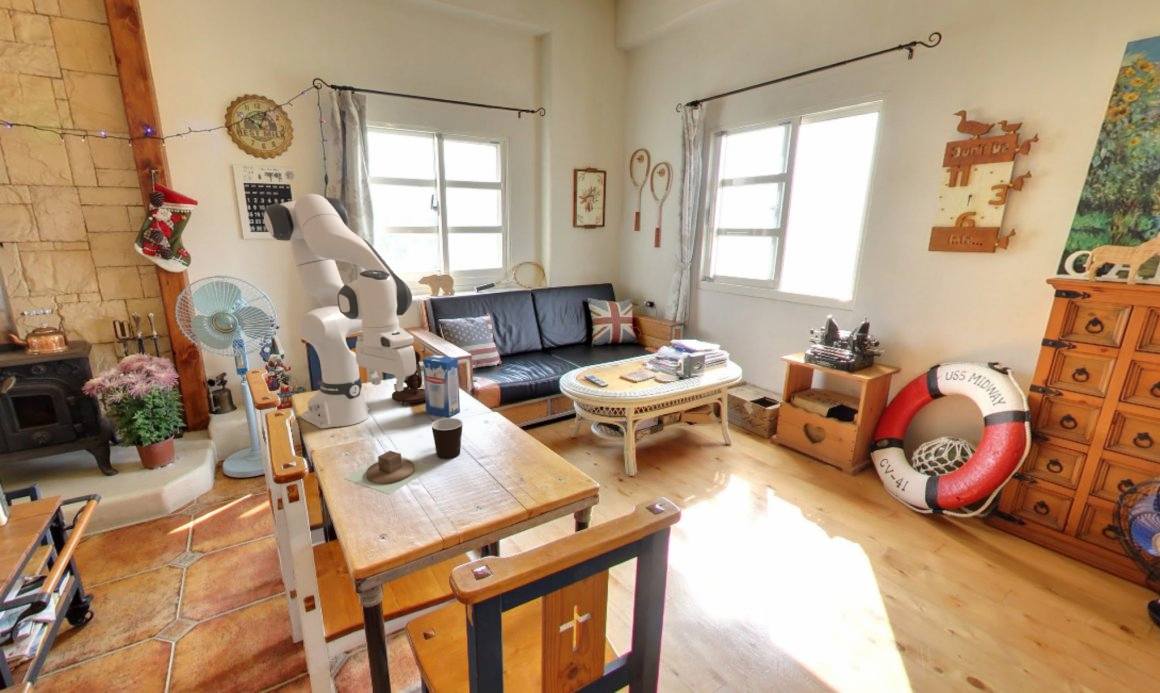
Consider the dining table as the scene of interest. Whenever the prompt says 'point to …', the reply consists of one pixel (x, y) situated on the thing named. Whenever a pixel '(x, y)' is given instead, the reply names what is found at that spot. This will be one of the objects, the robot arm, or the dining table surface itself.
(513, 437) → the dining table surface
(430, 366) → the milk carton
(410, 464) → the lid
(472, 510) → the dining table surface
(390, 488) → the mat
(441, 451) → the coffee mug
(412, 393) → the dark brown tall piece
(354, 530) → the dining table surface
